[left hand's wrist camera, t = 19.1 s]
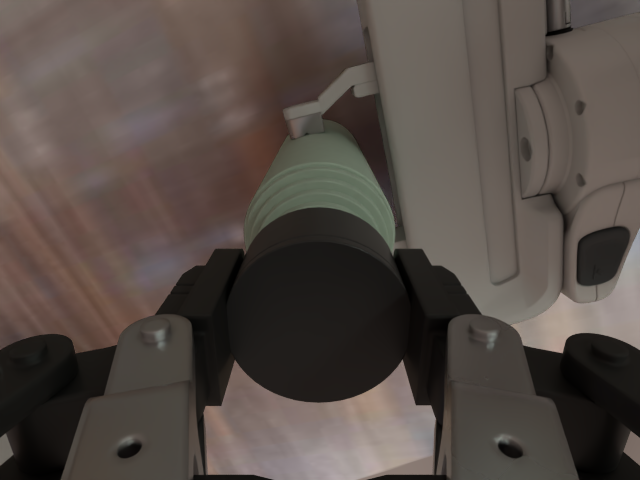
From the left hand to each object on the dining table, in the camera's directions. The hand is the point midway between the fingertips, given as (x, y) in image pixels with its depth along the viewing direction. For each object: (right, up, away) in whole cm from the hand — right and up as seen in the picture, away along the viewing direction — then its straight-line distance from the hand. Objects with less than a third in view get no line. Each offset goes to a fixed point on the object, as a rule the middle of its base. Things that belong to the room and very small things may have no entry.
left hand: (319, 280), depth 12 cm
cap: (0, -1, -2) cm, 2 cm away
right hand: (-1, +4, +10) cm, 11 cm away
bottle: (0, +6, +16) cm, 17 cm away
